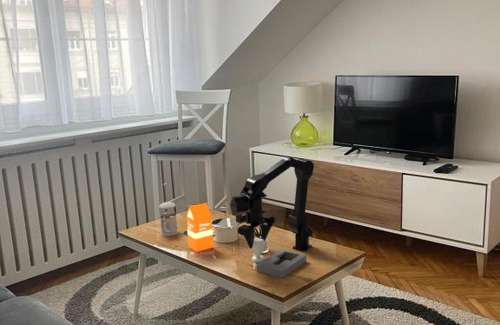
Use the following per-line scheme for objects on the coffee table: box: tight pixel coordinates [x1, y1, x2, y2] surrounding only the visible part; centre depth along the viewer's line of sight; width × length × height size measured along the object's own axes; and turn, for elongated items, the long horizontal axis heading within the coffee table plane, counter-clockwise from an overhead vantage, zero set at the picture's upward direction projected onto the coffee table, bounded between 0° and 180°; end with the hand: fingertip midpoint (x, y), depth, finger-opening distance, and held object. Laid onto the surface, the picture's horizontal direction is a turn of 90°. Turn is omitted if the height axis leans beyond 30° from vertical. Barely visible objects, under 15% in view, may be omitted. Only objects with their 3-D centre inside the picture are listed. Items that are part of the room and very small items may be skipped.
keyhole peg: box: [250, 237, 265, 264], centre depth 213 cm, size 5×5×9 cm
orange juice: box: [186, 202, 214, 253], centre depth 230 cm, size 8×9×20 cm
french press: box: [158, 182, 180, 237], centre depth 251 cm, size 10×12×25 cm
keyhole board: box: [256, 249, 307, 279], centre depth 207 cm, size 18×12×3 cm, turn 143°
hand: (257, 244), depth 213 cm, fingers open, 9 cm apart
